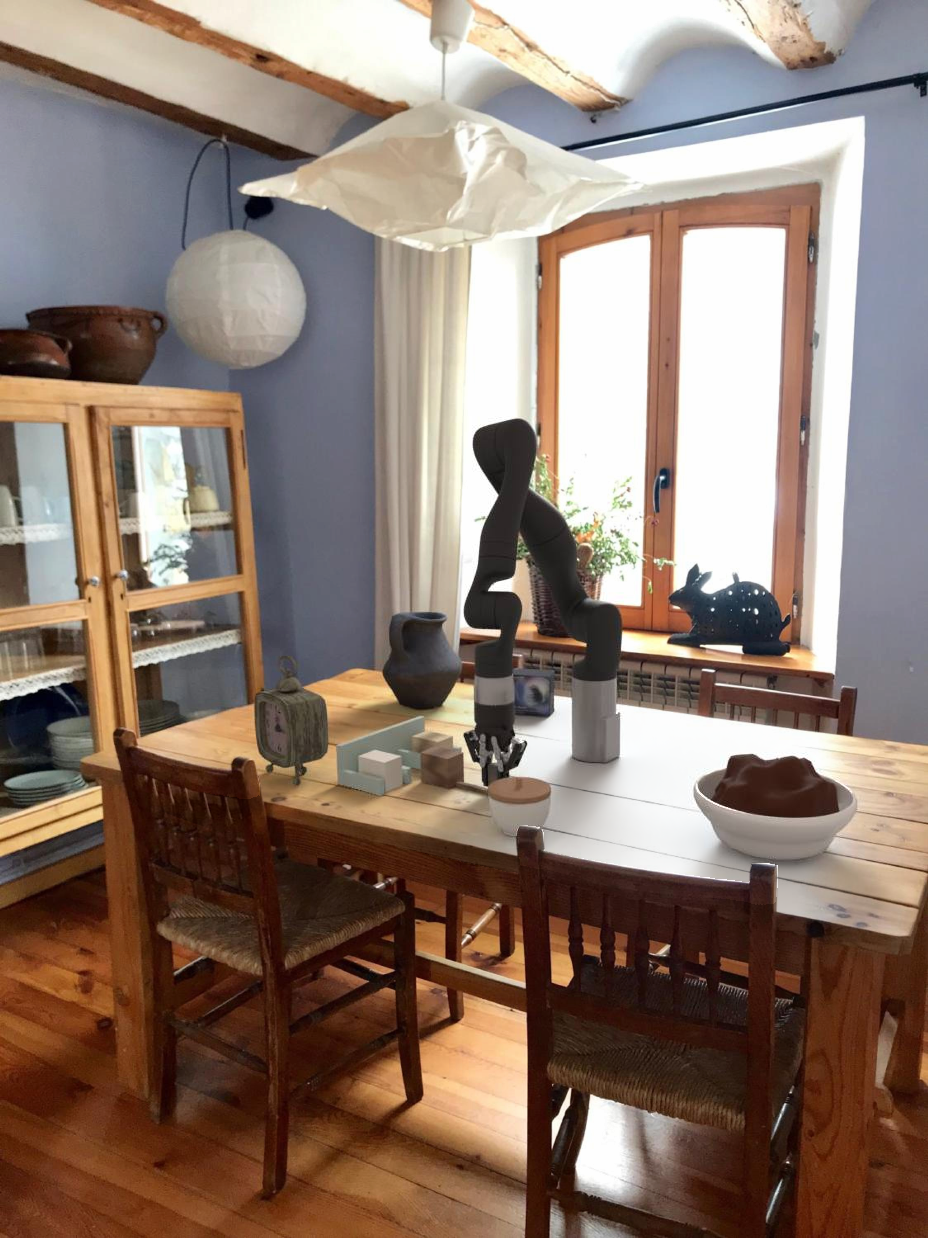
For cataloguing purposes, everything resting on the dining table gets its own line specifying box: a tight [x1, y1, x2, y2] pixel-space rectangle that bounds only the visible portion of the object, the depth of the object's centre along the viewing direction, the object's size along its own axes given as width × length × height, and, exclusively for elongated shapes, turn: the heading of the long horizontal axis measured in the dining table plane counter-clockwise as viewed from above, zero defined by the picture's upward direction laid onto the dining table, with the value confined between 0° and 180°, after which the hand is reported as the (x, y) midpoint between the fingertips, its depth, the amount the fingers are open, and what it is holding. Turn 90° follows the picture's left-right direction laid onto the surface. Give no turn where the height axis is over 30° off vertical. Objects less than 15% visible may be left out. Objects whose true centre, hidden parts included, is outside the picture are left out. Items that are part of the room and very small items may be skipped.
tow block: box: [420, 746, 499, 797], centre depth 184 cm, size 18×5×6 cm, turn 51°
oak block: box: [412, 730, 454, 753], centre depth 199 cm, size 7×5×6 cm
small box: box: [513, 667, 555, 718], centre depth 236 cm, size 11×6×10 cm, turn 73°
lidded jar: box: [487, 776, 552, 838], centre depth 163 cm, size 11×11×9 cm
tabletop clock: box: [253, 654, 329, 786], centre depth 191 cm, size 14×9×25 cm, turn 40°
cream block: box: [358, 750, 403, 793], centre depth 187 cm, size 7×5×6 cm
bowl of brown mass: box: [692, 753, 858, 861], centre depth 154 cm, size 25×25×15 cm
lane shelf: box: [335, 715, 463, 797], centre depth 194 cm, size 11×25×8 cm, turn 142°
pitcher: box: [381, 611, 463, 711], centre depth 243 cm, size 21×22×25 cm
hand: (495, 786), depth 180 cm, fingers closed on tow block, 3 cm apart
